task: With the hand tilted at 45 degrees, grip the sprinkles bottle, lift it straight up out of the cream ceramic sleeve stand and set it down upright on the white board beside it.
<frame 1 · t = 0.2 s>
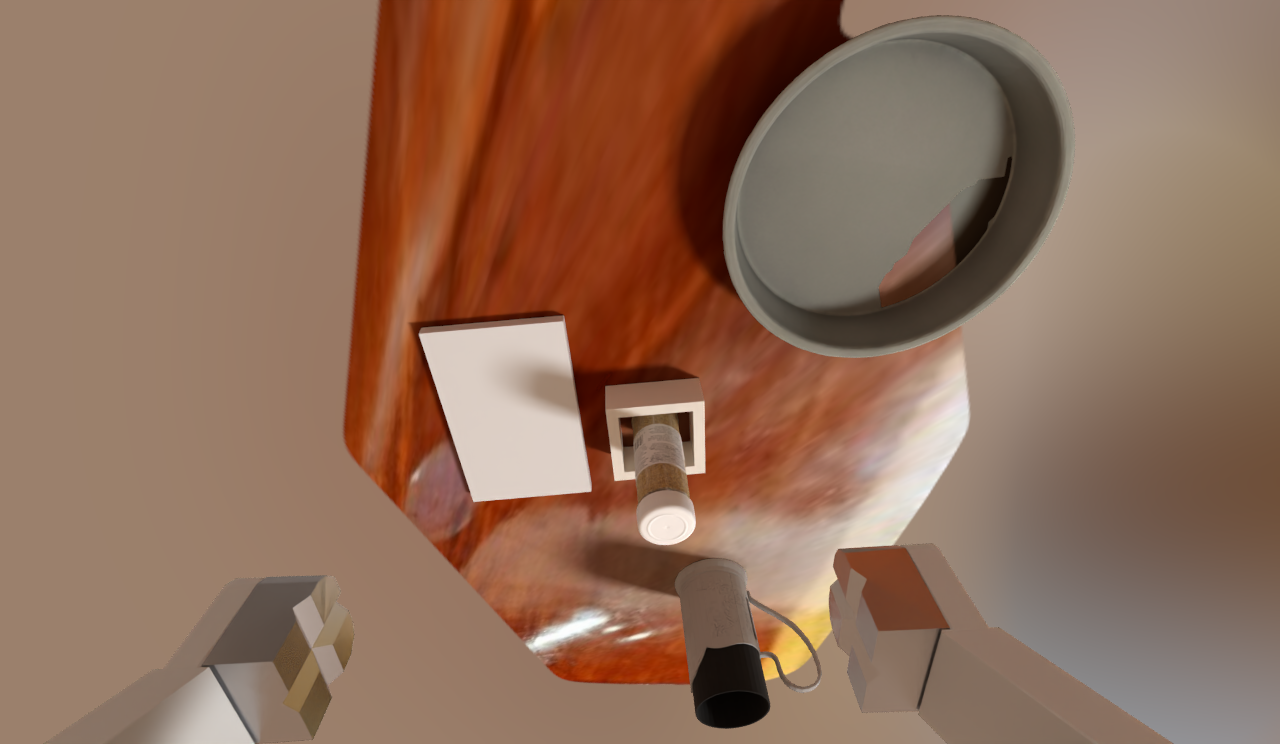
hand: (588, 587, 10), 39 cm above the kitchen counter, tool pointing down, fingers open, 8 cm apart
cake pan: (871, 193, 47), on the kitchen counter
grey ceramic mug: (733, 578, 73), on the kitchen counter
white board: (515, 413, 57), on the kitchen counter
sleeve stand: (654, 418, 58), on the kitchen counter
sprinkles bottle: (654, 416, 58), resting in sleeve stand
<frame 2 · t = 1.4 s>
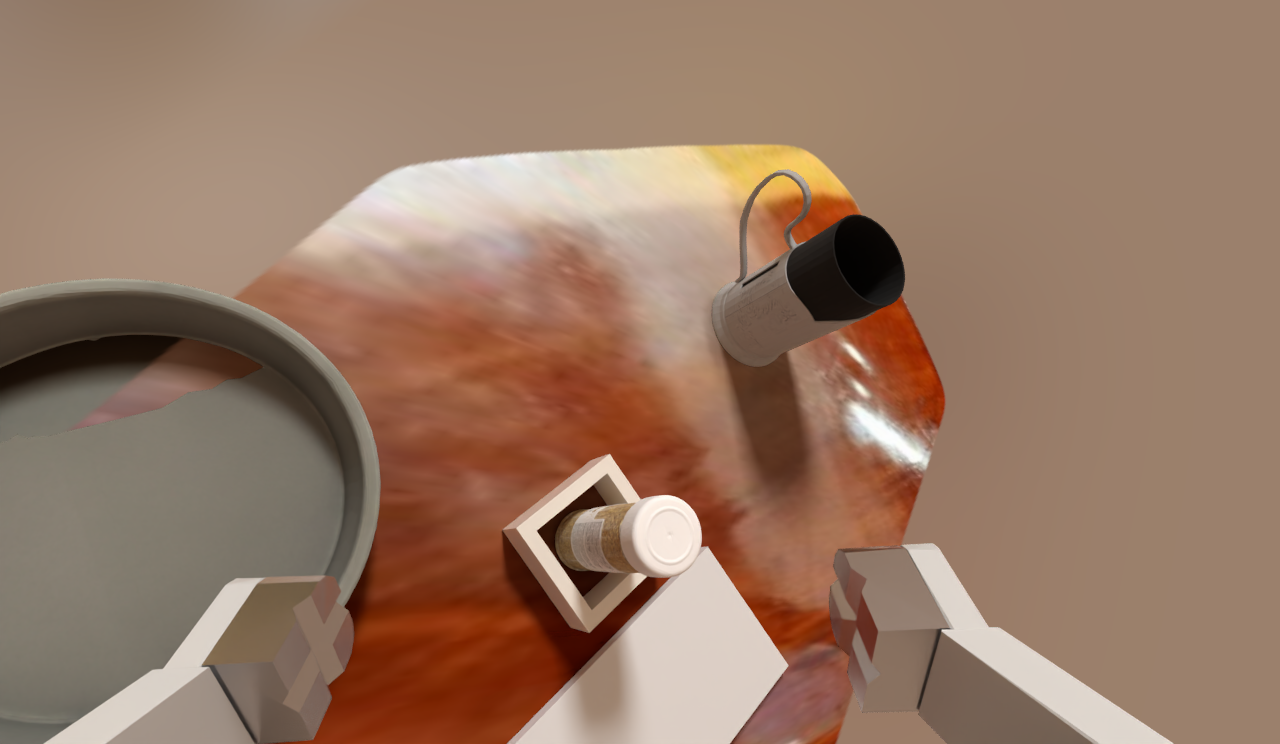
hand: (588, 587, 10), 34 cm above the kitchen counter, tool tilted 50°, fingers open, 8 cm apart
cake pan: (140, 509, 35), on the kitchen counter
grey ceramic mug: (732, 300, 59), on the kitchen counter
white board: (659, 699, 45), on the kitchen counter
sleeve stand: (581, 540, 46), on the kitchen counter
sprinkles bottle: (580, 540, 46), resting in sleeve stand
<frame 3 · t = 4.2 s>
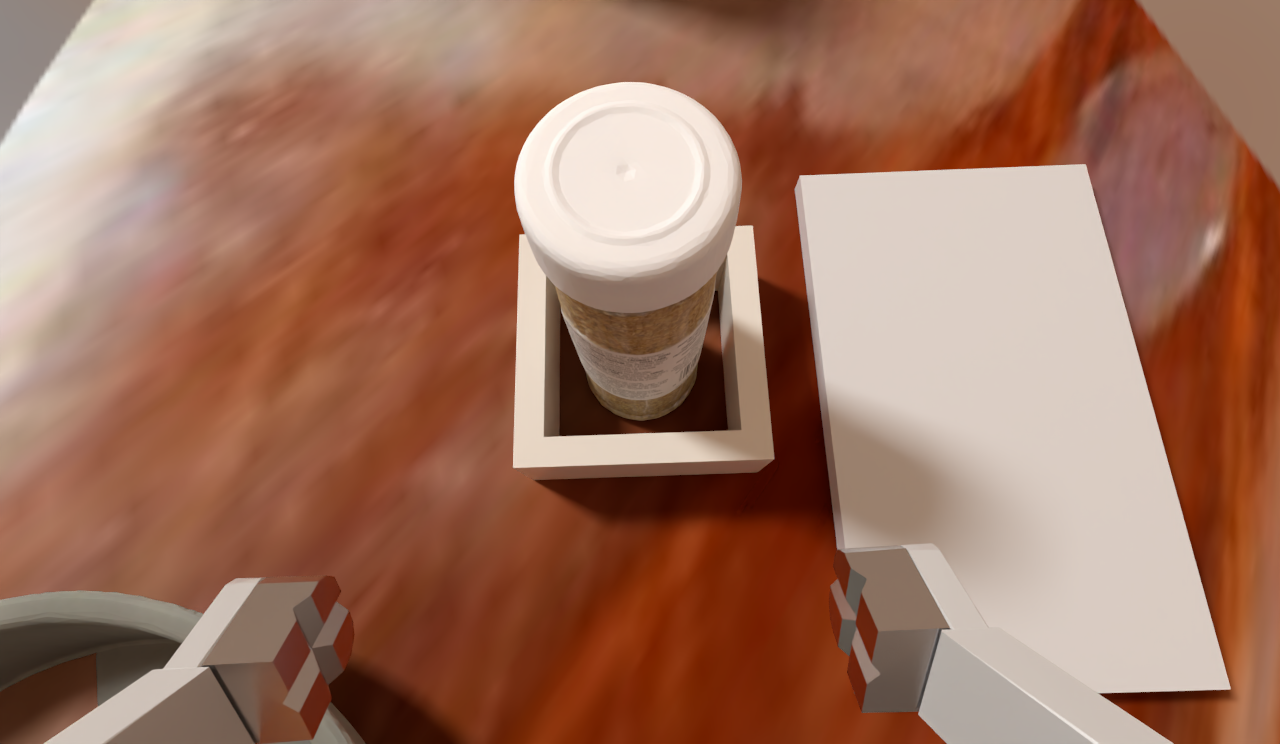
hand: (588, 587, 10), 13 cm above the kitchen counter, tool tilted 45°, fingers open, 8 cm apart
white board: (974, 405, 24), on the kitchen counter
sleeve stand: (641, 369, 25), on the kitchen counter
sprinkles bottle: (641, 370, 25), resting in sleeve stand
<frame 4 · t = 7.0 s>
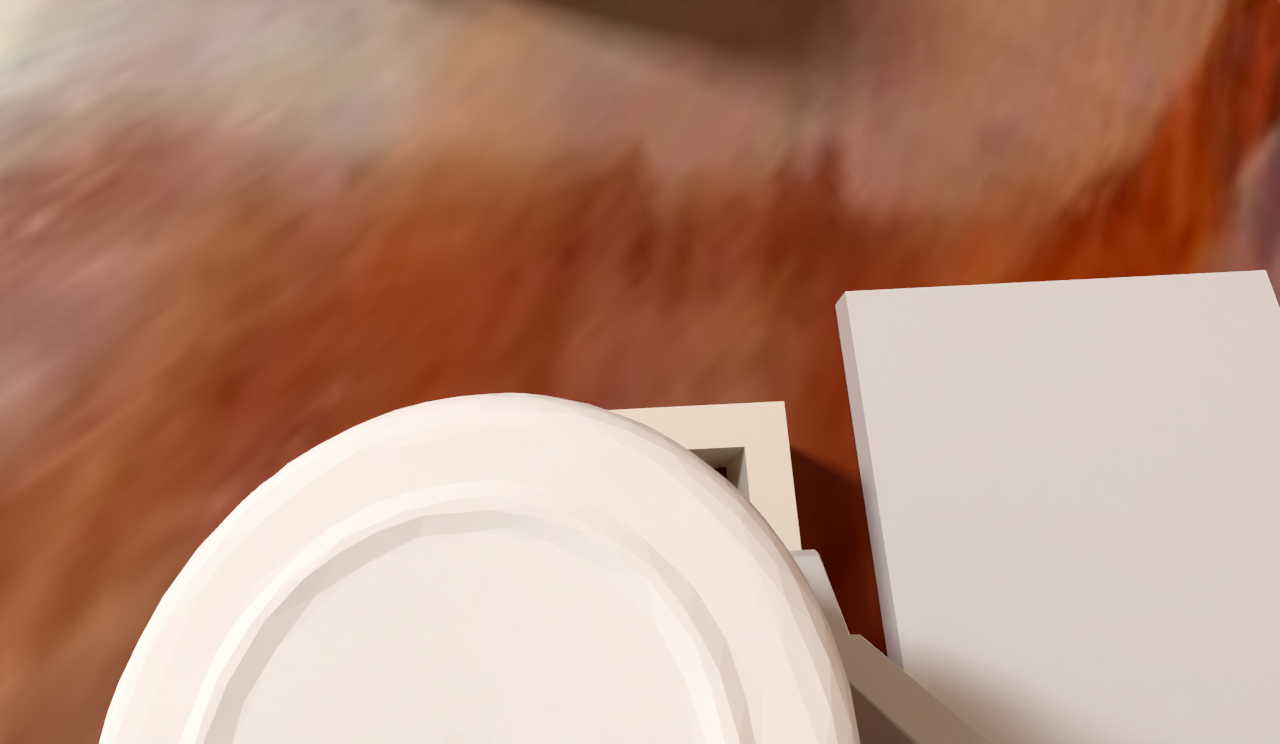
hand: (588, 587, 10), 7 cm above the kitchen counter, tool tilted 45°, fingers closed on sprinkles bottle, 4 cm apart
white board: (1124, 656, 16), on the kitchen counter
sleeve stand: (612, 598, 16), on the kitchen counter
sprinkles bottle: (613, 597, 16), resting in sleeve stand, touching gripper
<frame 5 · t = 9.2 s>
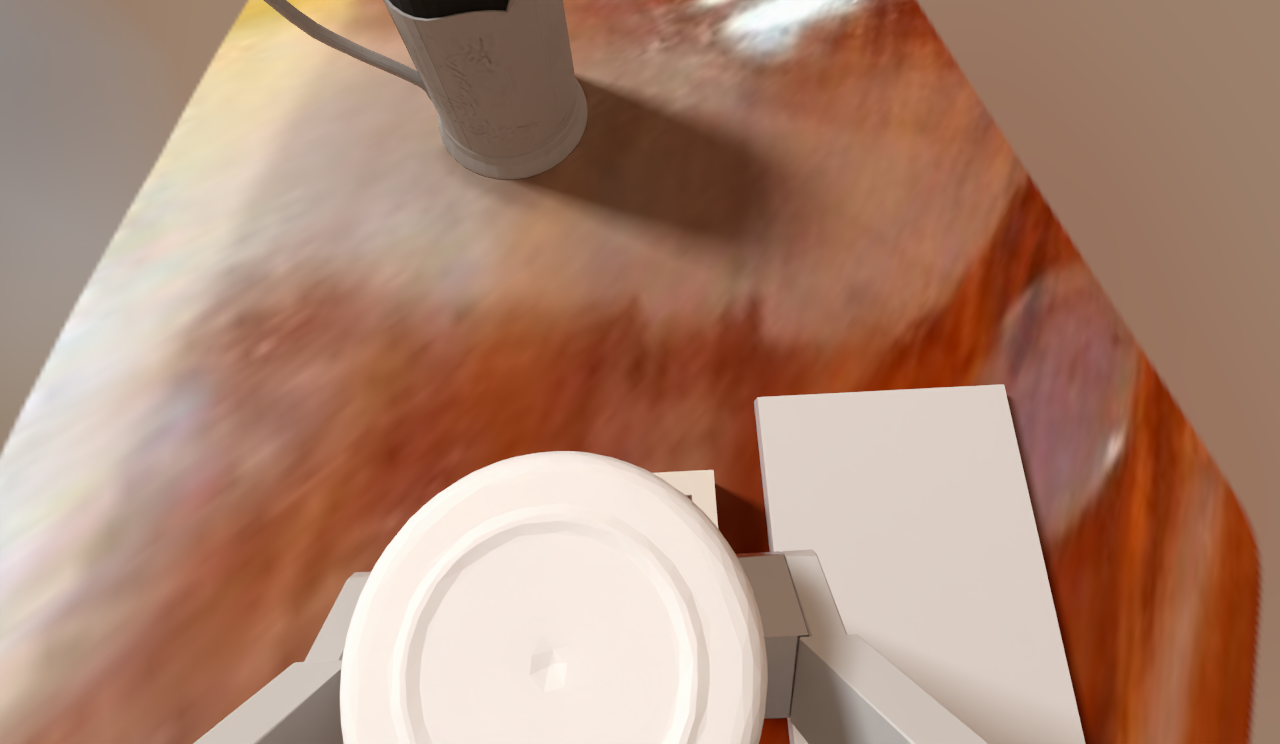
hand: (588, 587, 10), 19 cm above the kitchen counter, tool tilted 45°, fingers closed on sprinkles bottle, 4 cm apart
grey ceramic mug: (467, 119, 36), on the kitchen counter
white board: (908, 608, 28), on the kitchen counter
sleeve stand: (621, 577, 28), on the kitchen counter
sprinkles bottle: (615, 594, 19), point 10 cm above the kitchen counter, touching gripper
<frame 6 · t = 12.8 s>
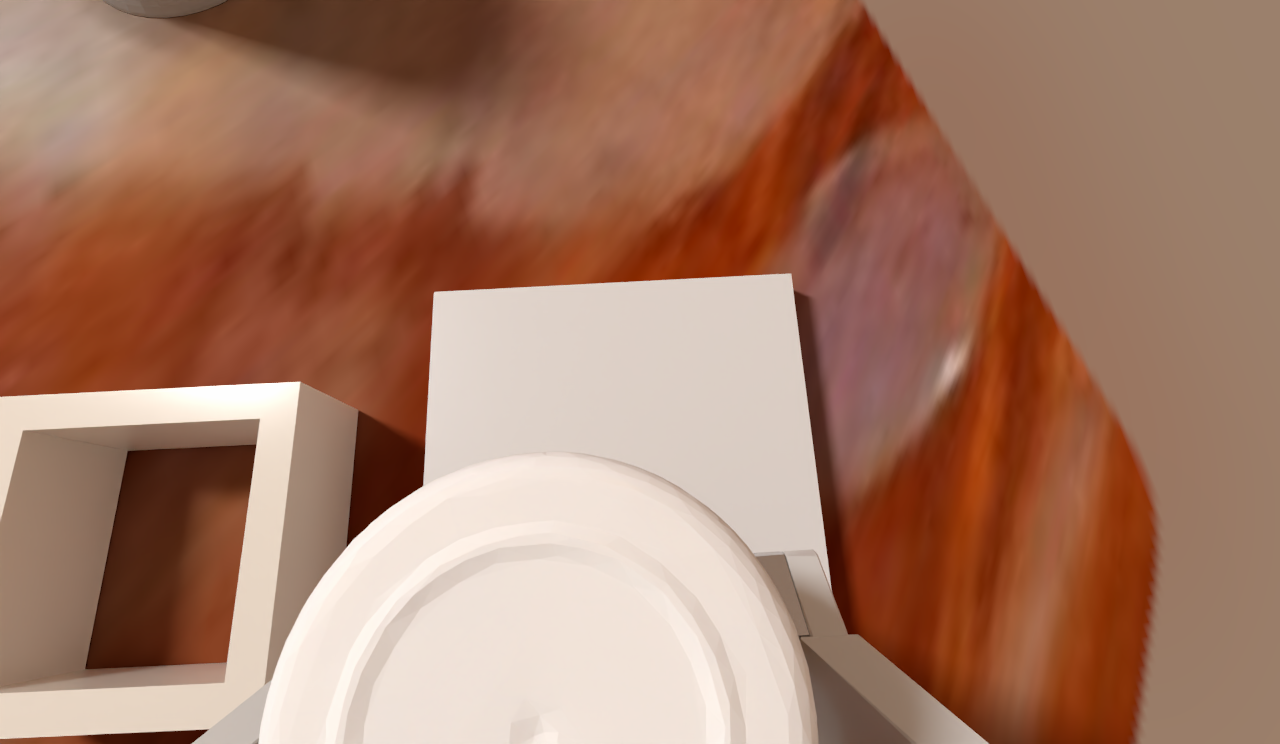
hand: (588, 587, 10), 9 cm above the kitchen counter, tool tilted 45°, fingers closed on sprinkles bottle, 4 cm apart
white board: (625, 597, 19), on the kitchen counter
sleeve stand: (211, 549, 19), on the kitchen counter
sprinkles bottle: (606, 599, 18), point 1 cm above the kitchen counter, touching white board, gripper
when the fingers open (9 cm above the kitchen counter, at t = 13.3 s): sprinkles bottle stays where it is, resting on white board.
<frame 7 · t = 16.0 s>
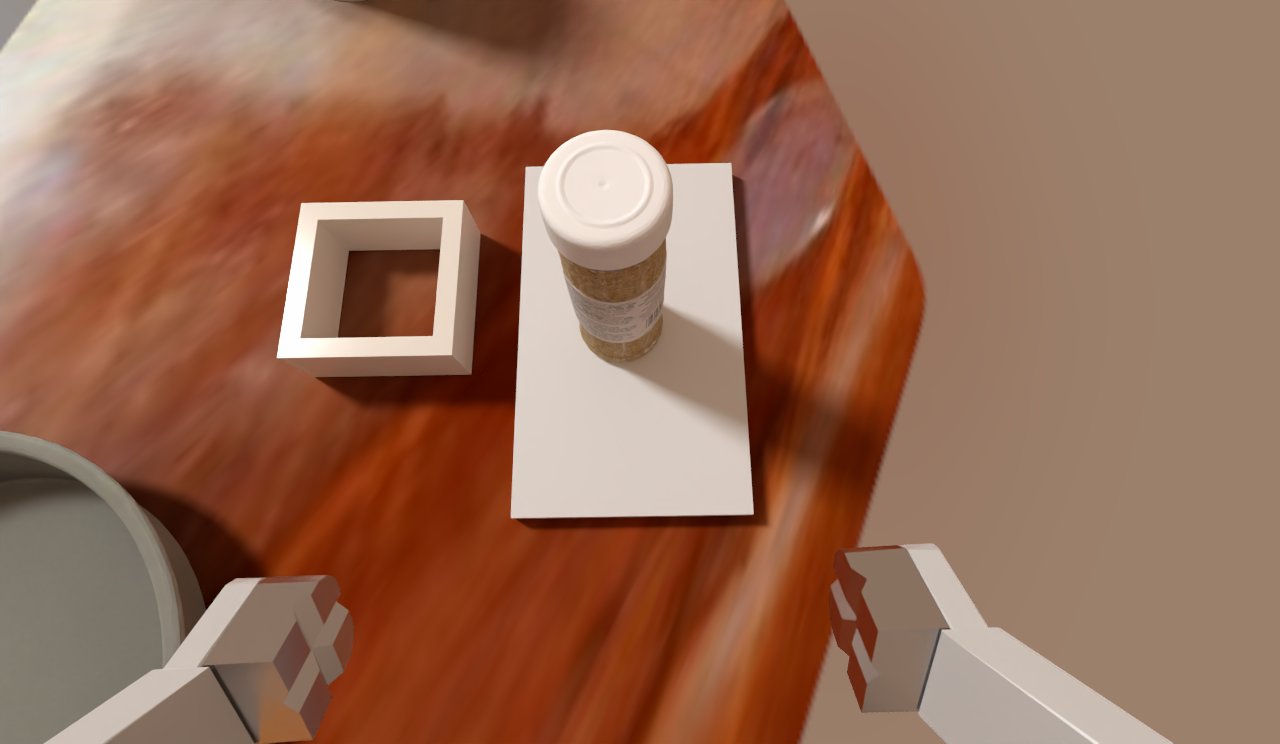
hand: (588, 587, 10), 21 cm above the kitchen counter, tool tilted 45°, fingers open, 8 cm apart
white board: (630, 332, 34), on the kitchen counter
sleeve stand: (400, 302, 34), on the kitchen counter
sprinkles bottle: (621, 326, 33), point 1 cm above the kitchen counter, touching white board
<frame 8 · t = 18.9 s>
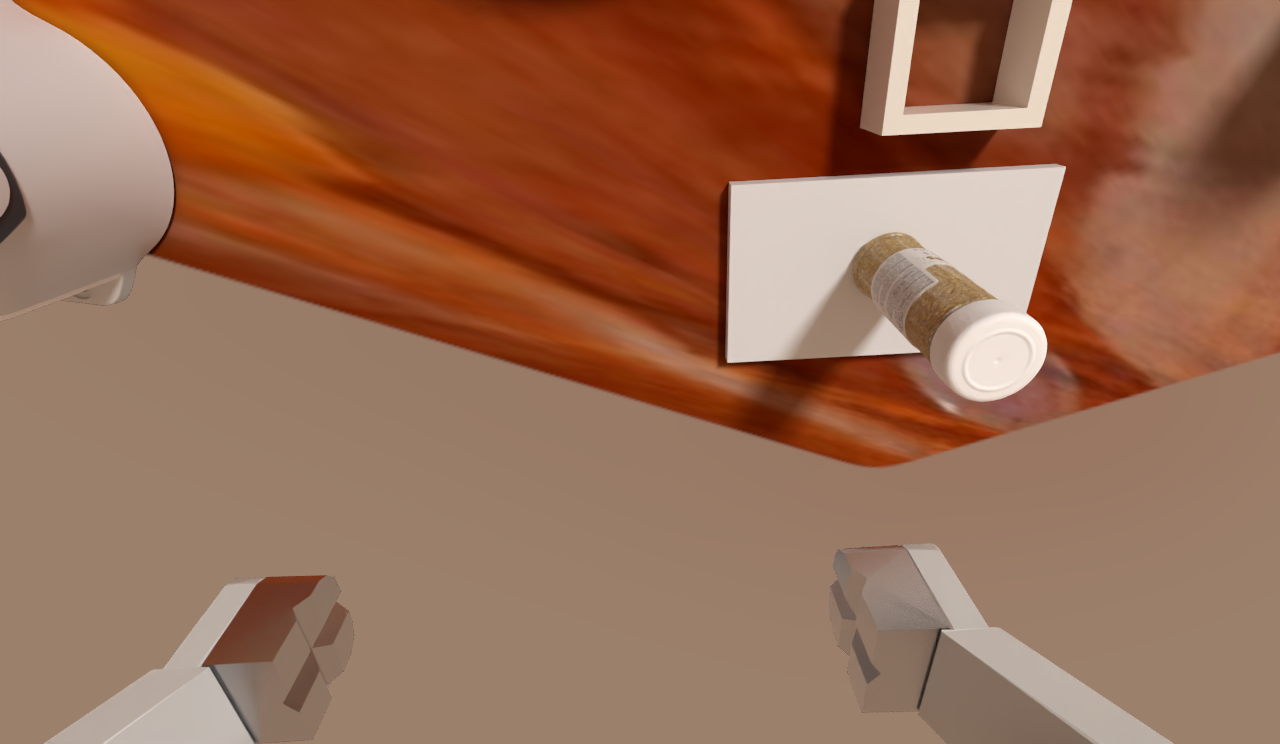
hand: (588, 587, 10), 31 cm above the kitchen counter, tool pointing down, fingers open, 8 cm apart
white board: (878, 267, 40), on the kitchen counter
sleeve stand: (946, 41, 34), on the kitchen counter
sprinkles bottle: (884, 263, 39), point 1 cm above the kitchen counter, touching white board
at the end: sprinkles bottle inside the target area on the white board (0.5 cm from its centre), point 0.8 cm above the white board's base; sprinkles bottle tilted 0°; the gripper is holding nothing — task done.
